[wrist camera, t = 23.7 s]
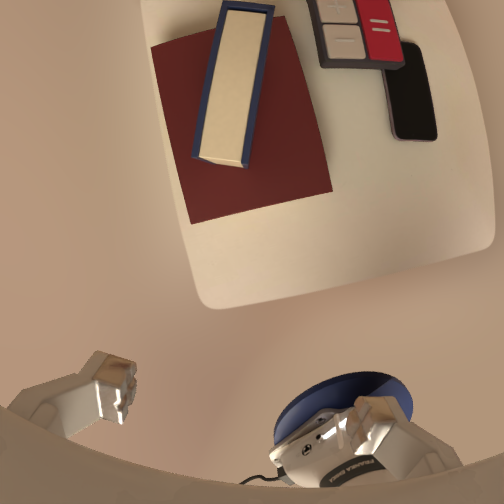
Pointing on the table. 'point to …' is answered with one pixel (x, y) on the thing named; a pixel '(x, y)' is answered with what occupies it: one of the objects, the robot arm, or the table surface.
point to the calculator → (356, 34)
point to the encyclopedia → (265, 136)
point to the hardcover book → (233, 84)
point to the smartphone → (410, 98)
